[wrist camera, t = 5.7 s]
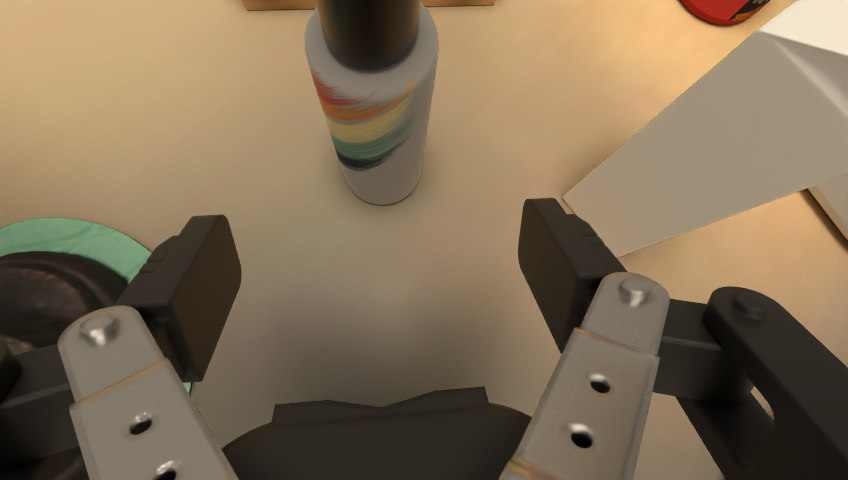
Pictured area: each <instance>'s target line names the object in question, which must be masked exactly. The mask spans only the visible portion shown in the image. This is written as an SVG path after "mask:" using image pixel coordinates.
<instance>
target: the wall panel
mask: <svg viewBox="0 0 848 480" xmlns="http://www.w3.org/2000/svg"><path fill="white" fill-rule="evenodd" d="M242 1H243V3H244V5H245V7H246V9H247V10H278V9H315V8H316V7H317V5H316V0H242ZM420 2H421V3H422V4H423V5H424V6H466V5H494V2H495V0H421V1H420Z"/></svg>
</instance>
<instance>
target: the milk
mask: <svg viewBox="0 0 848 480" xmlns="http://www.w3.org/2000/svg"><path fill="white" fill-rule="evenodd" d="M847 173H848V0H797V1H795V2H794V3H793V4H791V5H790V6H789V7H787V8H786V9H785V10H783V11H782V12H780V13H779V14H778V15H776V16H775V17H774V18H772V19H771V20H770V21H768V22H767V23H766V24H764V25H763V26H762V27H760V28H759V29H758V30H757V31H755V32H754V33H753V34H752V35H751V36H749V37H748V38H747V39H746V40H745V41H743V42H742V43H741V44H740V45H739V46H738V47H736V48H735V49H734V50H733V51H732V52H731V53H729V54H728V55H727V56H726V57H725V58H724V59H722V60H721V61H720V62H719V63H718V64H717V65H715V66H714V67H713V68H712V69H711V70H710V71H708V72H707V73H706V74H705V75H704V76H703V77H701V78H700V79H699V80H698V81H697V82H695V83H694V84H693V85H692V86H691V87H690V88H688V89H687V90H686V91H685V92H684V93H683V94H681V95H680V96H679V97H678V98H677V99H676V100H674V101H673V102H672V103H671V104H670V105H669V106H667V107H666V108H665V109H664V110H663V111H662V112H660V113H659V114H658V115H657V116H656V117H655V118H653V119H652V120H651V121H650V122H649V123H647V124H646V125H645V126H644V127H643V128H642V129H640V130H639V131H638V132H637V133H636V134H635V135H633V136H632V137H631V138H630V139H629V140H628V141H626V142H625V143H624V144H623V145H622V146H621V147H619V148H618V149H617V150H616V151H615V152H614V153H612V154H611V155H610V156H609V157H608V158H607V159H605V160H604V161H603V162H602V163H601V164H600V165H598V166H597V167H596V168H595V169H594V170H592V171H591V172H590V173H589V174H588V175H587V176H585V177H584V178H583V179H582V180H581V181H580V182H578V183H577V184H576V185H575V186H574V187H573V188H571V189H570V190H569V191H568V192H567V193H566V194H564V195H563V196H562V198H563V199H564V201H565V202H566V203H567V204H568V205H569V207H570V208H571V209H572V210H573V211H574V213H575V214H576V215H577V216H578V217H579V218H581V219H582V220H584V221H586V222H587V223H589V224H590V226H591V227H592V228H593V229H594V231H595V232H596V233H597V236H599V237H600V238H601V239H602V241H603V242H604V245H605V246H607V247H608V248H609V249H610V251H611V252H612V253H613V254H614V256H615V257H616V258H618V257H621V256H623V255H626V254H629V253H631V252H634V251H637V250H640V249H642V248H645V247H648V246H651V245H653V244H656V243H659V242H661V241H664V240H667V239H670V238H672V237H675V236H678V235H681V234H683V233H686V232H689V231H692V230H694V229H697V228H700V227H702V226H705V225H708V224H711V223H713V222H716V221H719V220H722V219H724V218H727V217H730V216H732V215H735V214H738V213H741V212H743V211H746V210H749V209H752V208H754V207H757V206H760V205H763V204H765V203H768V202H771V201H773V200H776V199H779V198H782V197H784V196H787V195H790V194H793V193H795V192H798V191H801V190H803V189H806V188H809V187H812V186H814V185H817V184H820V183H823V182H825V181H828V180H831V179H834V178H836V177H839V176H842V175H844V174H847Z"/></svg>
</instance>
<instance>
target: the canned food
mask: <svg viewBox="0 0 848 480" xmlns="http://www.w3.org/2000/svg"><path fill="white" fill-rule="evenodd" d="M681 1H682V3H683V4H684V5H685V6H686V7H687V8H688V10H690V11H691V12H692V13H693V14H695V15H696V16H698V17H700V18H701V19H703V20H706V21H708V22H711V23H715V24H722V25H729V24H735V23H738V22H741V21H743V20H745V19H747V18H749V17H751V16H752V15H754V14H755V13H757V12H758V11H759V10H760V9H761V8H762V7H763V6H765V5H766V4H767V3H768V2H769V1H770V0H681Z"/></svg>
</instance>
